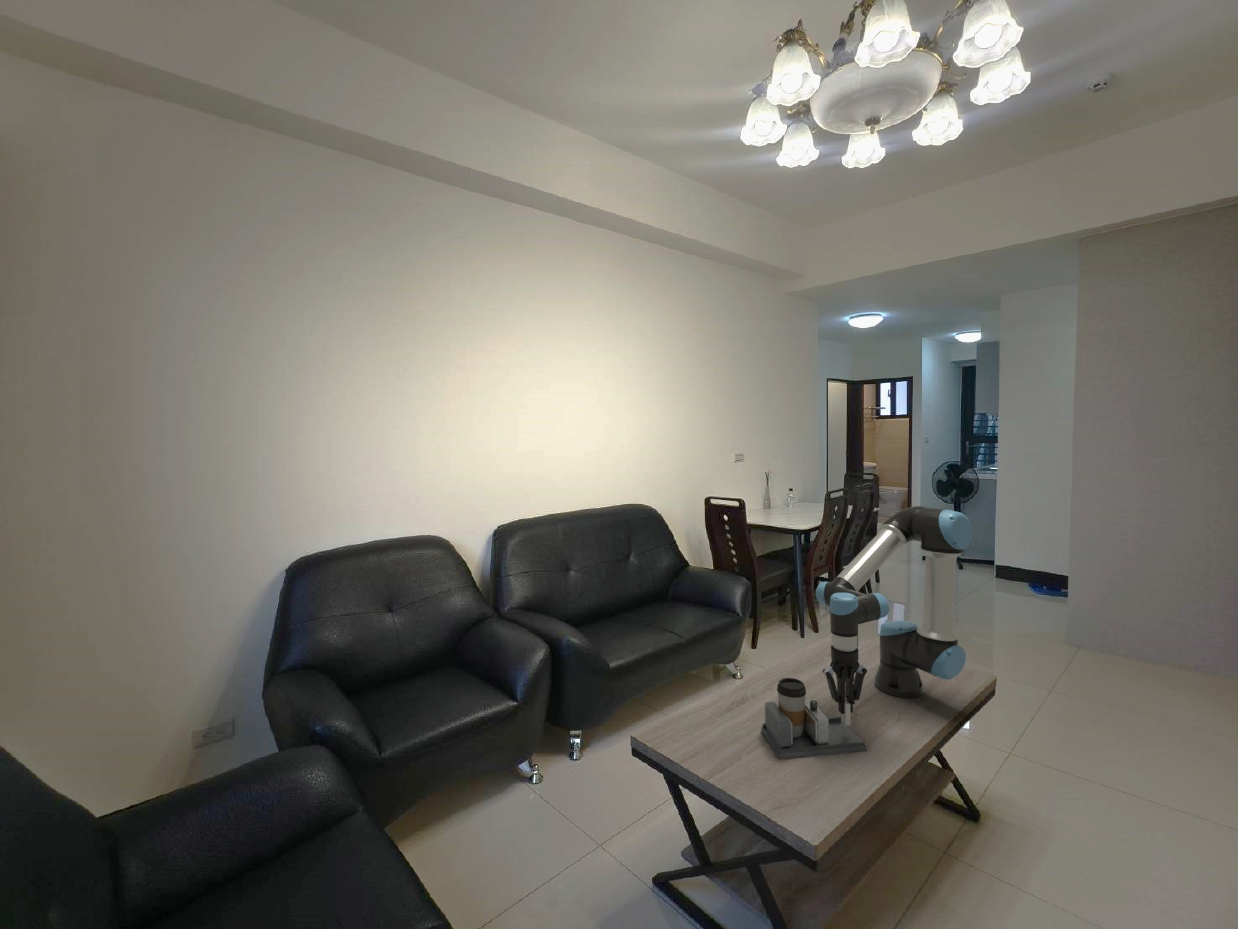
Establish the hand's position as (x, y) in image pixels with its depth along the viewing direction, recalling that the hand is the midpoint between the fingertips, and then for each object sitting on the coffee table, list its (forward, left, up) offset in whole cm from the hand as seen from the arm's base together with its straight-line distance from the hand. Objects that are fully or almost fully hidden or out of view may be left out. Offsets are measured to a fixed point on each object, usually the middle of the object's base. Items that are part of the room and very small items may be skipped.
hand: (845, 722), depth 161 cm
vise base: (+11, +1, -4) cm, 12 cm away
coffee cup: (+16, -2, -3) cm, 16 cm away
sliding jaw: (+11, +1, -2) cm, 11 cm away
